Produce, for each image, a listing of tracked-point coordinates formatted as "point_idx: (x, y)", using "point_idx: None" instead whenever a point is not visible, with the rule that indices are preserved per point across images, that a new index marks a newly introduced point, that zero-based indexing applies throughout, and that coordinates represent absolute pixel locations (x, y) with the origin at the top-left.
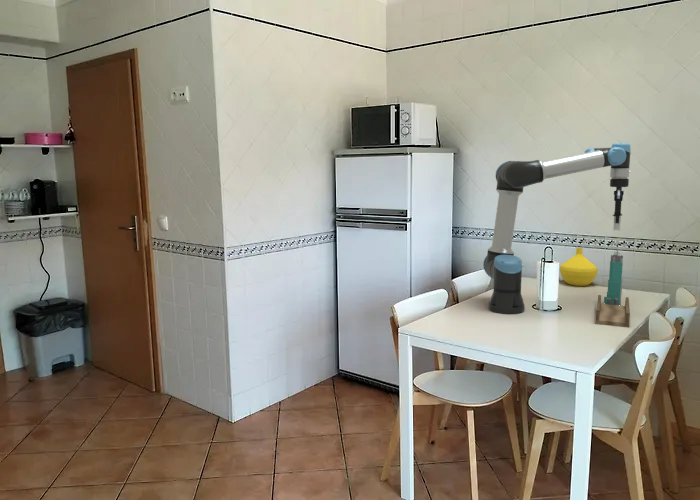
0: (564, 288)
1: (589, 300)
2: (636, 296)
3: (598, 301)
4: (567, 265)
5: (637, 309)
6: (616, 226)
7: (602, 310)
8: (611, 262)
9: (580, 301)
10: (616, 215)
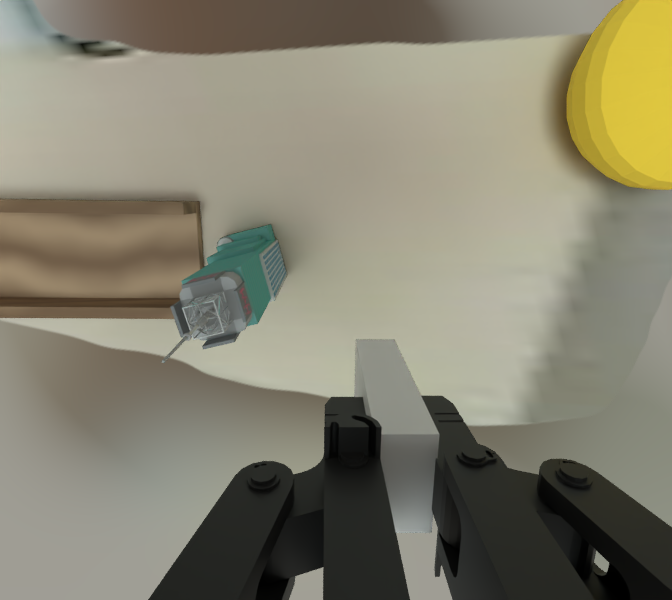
0: (505, 43)
1: (298, 167)
2: (435, 338)
3: (52, 205)
4: (656, 3)
5: None
6: (359, 388)
7: (88, 220)
8: (210, 273)
9: (265, 131)
10: (302, 483)
